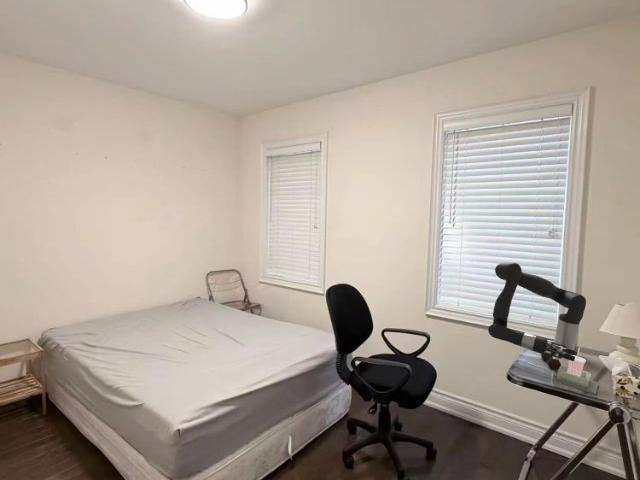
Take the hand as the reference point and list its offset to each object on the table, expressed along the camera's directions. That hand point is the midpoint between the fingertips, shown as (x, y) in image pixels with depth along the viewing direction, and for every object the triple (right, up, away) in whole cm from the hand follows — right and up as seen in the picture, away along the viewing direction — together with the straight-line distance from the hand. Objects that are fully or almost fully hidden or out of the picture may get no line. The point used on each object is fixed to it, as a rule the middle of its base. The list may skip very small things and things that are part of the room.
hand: (575, 356), depth 151 cm
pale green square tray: (0, -12, 0) cm, 12 cm away
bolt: (0, -10, +18) cm, 20 cm away
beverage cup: (-1, -10, +1) cm, 10 cm away
